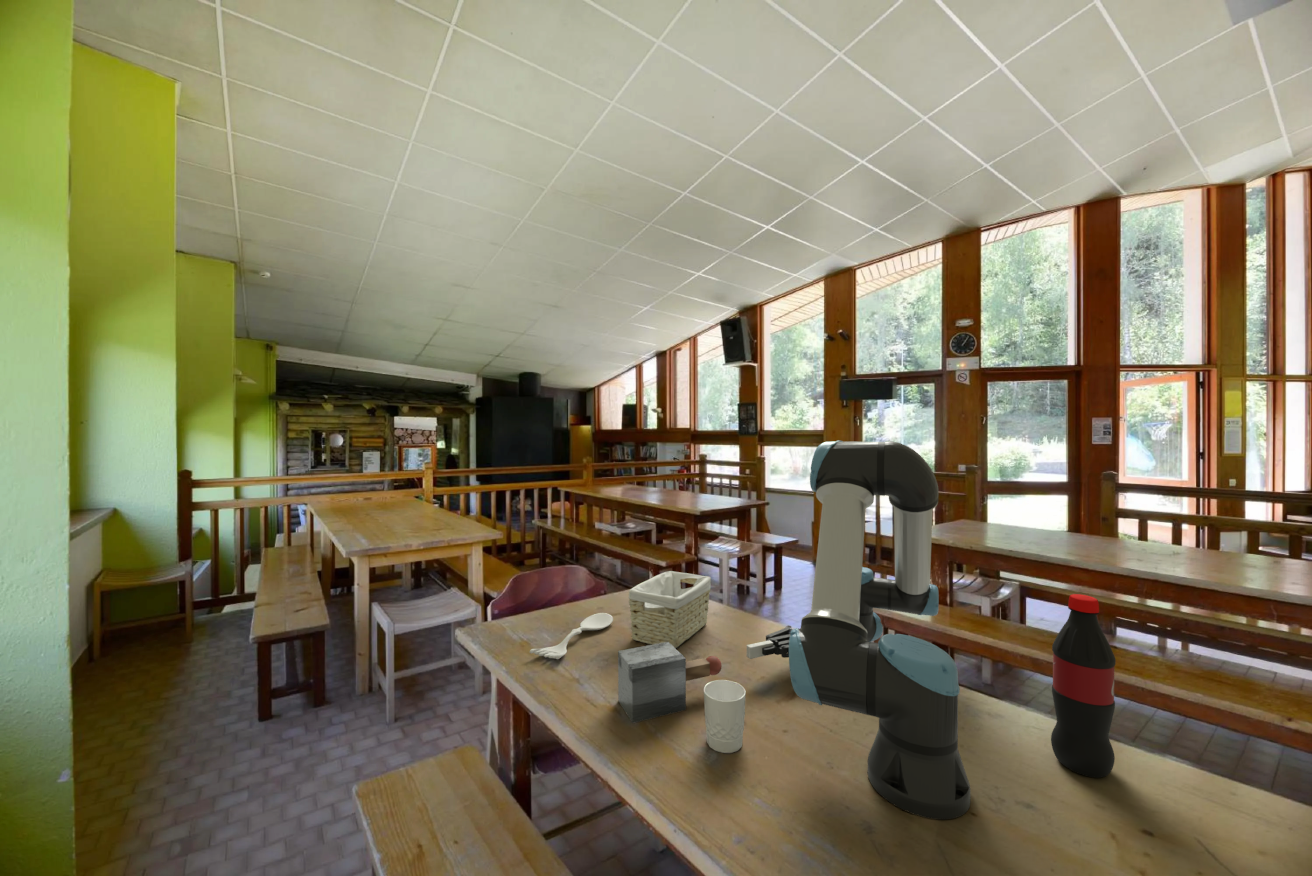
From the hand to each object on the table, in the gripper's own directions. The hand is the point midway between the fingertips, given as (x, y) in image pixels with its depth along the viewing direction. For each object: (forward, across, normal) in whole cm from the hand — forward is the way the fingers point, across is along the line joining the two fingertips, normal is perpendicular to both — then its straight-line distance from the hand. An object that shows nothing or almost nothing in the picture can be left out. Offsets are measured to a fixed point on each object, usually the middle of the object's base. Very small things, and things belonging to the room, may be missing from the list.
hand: (748, 652), depth 117 cm
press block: (+25, 0, -7) cm, 26 cm away
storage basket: (+5, +33, -8) cm, 34 cm away
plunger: (+14, 0, -3) cm, 15 cm away
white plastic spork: (+31, +39, -8) cm, 51 cm away
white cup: (+17, -17, -7) cm, 25 cm away
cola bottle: (-37, -48, -7) cm, 61 cm away
